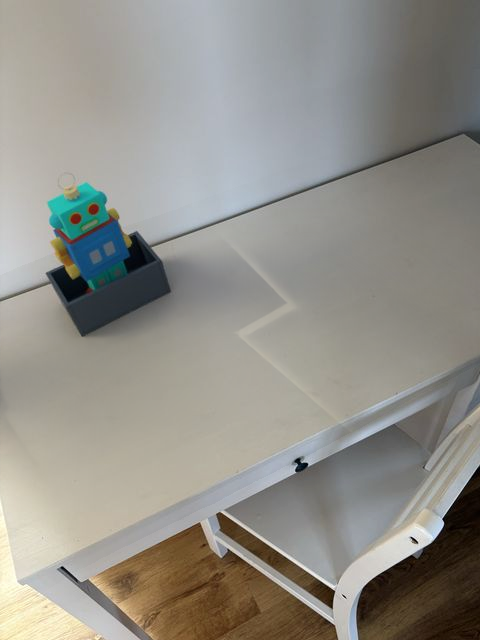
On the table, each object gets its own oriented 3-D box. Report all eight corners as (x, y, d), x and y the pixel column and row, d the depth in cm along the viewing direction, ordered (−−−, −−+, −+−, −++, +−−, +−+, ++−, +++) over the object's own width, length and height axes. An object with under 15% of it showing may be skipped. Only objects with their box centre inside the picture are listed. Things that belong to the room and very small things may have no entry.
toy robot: (95, 320, 93) (37, 201, 73) (79, 302, 96) (18, 183, 76) (150, 286, 97) (109, 165, 77) (132, 270, 100) (88, 149, 80)
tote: (81, 336, 92) (65, 307, 86) (61, 303, 97) (45, 272, 91) (171, 291, 97) (161, 260, 91) (147, 261, 102) (136, 230, 96)
